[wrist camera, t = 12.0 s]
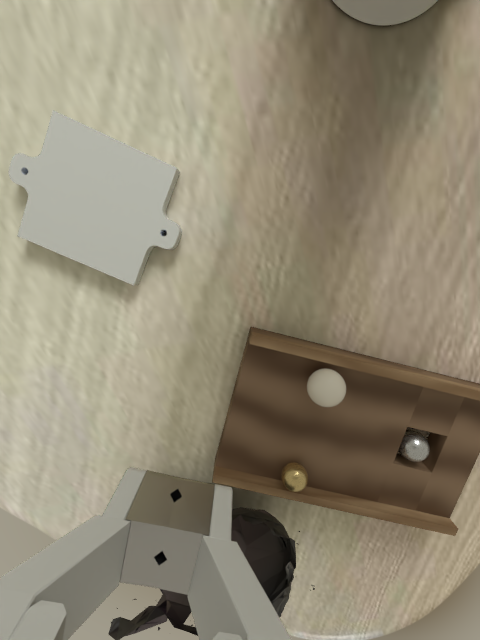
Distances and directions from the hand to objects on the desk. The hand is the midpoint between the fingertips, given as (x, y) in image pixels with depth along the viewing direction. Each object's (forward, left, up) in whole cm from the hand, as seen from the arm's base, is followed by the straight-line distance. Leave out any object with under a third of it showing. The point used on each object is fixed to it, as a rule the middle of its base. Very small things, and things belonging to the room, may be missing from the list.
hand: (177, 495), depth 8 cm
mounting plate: (-9, -16, -27) cm, 32 cm away
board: (+9, +18, -26) cm, 33 cm away
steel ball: (+9, +26, -24) cm, 37 cm away
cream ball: (+3, +12, -22) cm, 25 cm away
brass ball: (+15, +12, -22) cm, 29 cm away
